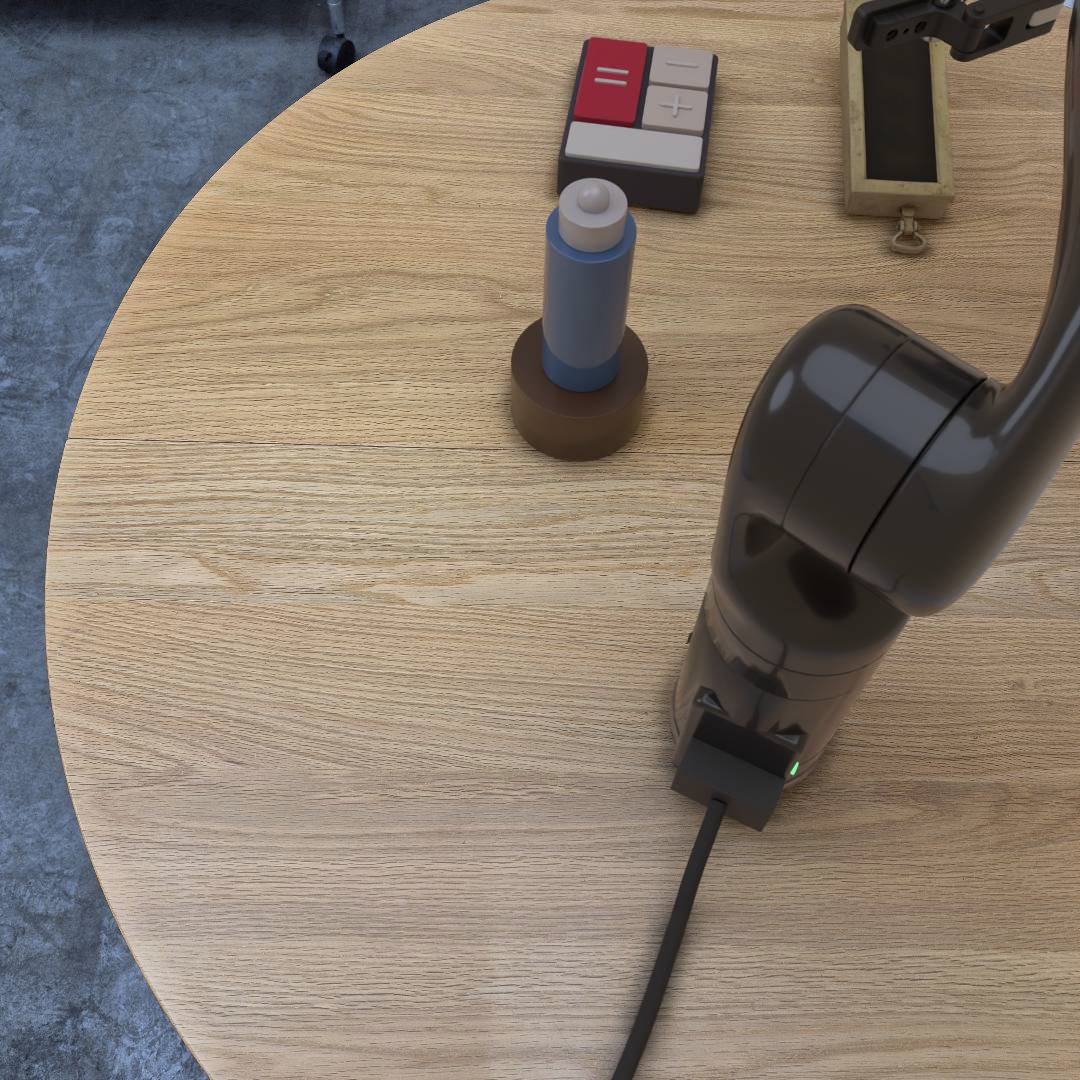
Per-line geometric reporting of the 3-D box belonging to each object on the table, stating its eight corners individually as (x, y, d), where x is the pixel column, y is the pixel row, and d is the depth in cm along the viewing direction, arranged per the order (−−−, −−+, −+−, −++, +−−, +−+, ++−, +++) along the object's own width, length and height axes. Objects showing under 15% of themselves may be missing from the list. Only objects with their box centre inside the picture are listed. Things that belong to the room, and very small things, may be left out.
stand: (608, 481, 80) (613, 438, 75) (488, 430, 82) (486, 385, 77) (662, 384, 84) (670, 338, 80) (546, 338, 86) (548, 290, 81)
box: (924, 41, 100) (942, -5, 96) (946, 273, 93) (967, 236, 88) (824, 38, 100) (838, -8, 96) (838, 271, 93) (854, 233, 88)
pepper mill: (599, 404, 77) (618, 233, 64) (527, 374, 78) (530, 200, 65) (633, 347, 79) (657, 171, 66) (562, 318, 80) (572, 140, 67)
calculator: (720, 45, 96) (705, 169, 88) (712, 91, 100) (697, 214, 92) (584, 29, 97) (557, 151, 89) (581, 75, 100) (555, 196, 92)
